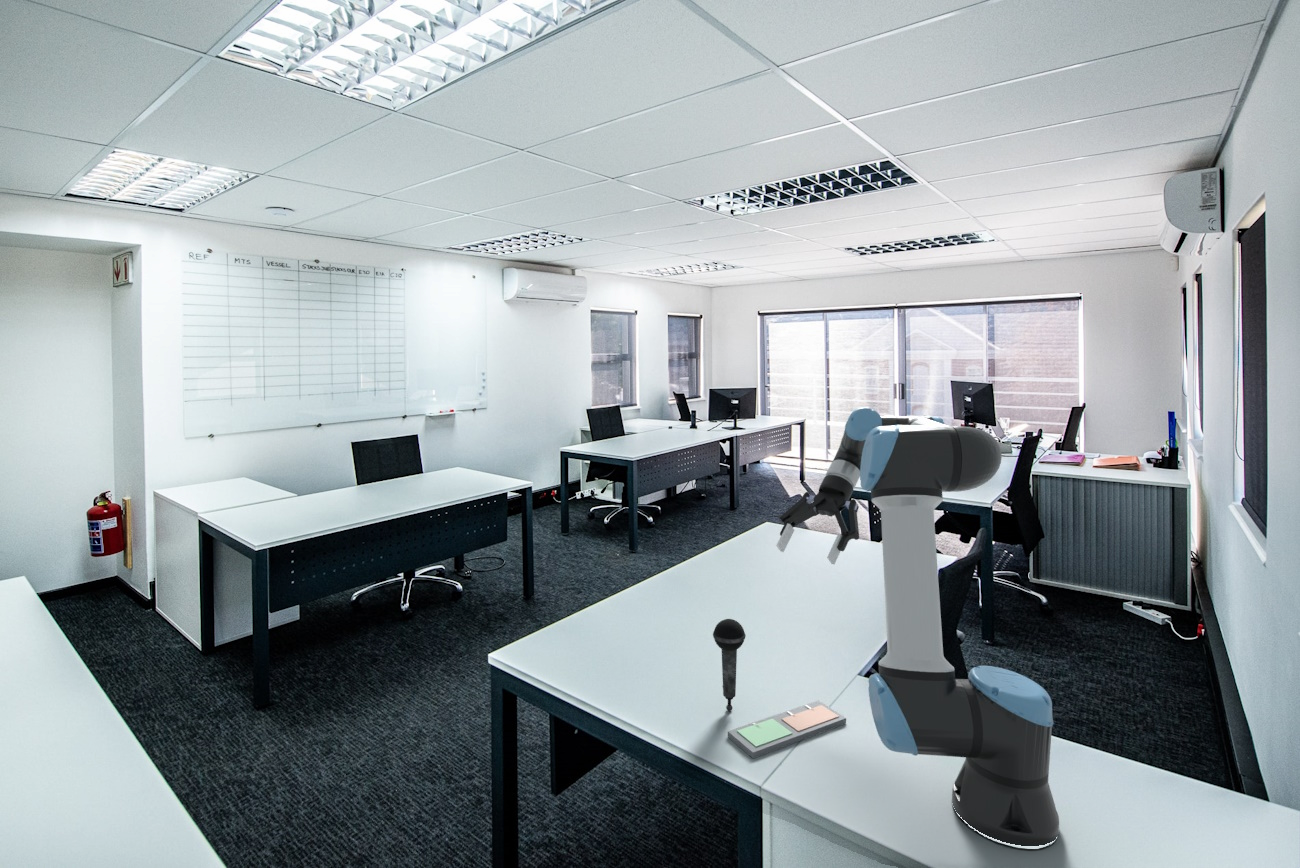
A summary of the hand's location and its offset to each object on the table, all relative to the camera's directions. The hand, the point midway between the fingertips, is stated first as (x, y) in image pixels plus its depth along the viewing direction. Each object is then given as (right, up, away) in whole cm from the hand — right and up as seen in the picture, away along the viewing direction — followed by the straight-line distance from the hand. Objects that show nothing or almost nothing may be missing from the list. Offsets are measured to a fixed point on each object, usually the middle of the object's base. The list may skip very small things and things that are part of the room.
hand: (804, 554), depth 146 cm
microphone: (-19, -31, -12) cm, 38 cm away
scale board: (-8, -32, -19) cm, 38 cm away
